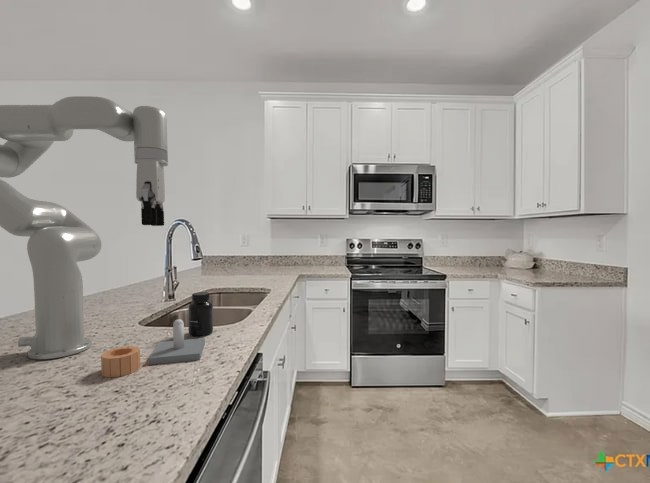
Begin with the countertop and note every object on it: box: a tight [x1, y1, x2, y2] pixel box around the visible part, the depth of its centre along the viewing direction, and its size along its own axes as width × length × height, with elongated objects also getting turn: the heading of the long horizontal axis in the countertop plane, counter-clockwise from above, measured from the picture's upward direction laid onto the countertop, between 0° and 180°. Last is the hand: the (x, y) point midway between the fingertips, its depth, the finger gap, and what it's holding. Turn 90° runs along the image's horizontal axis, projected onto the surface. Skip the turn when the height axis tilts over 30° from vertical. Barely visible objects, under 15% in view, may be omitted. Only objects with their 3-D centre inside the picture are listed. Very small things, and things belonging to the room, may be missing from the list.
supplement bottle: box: [187, 291, 214, 338], centre depth 95 cm, size 7×7×12 cm
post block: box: [147, 318, 206, 366], centre depth 80 cm, size 11×11×8 cm
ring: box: [100, 345, 141, 378], centre depth 71 cm, size 7×7×4 cm
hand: (153, 225), depth 83 cm, fingers open, 9 cm apart
